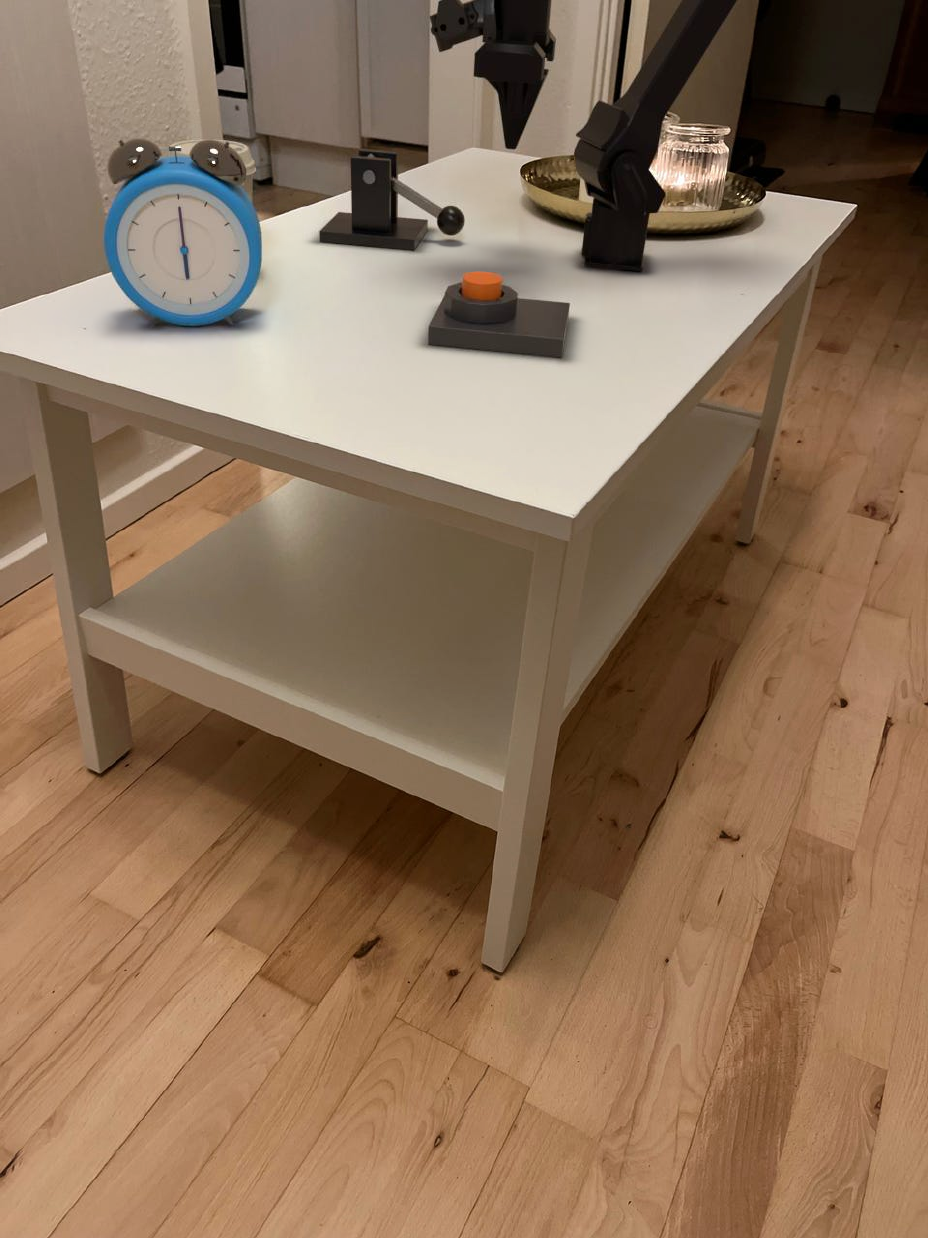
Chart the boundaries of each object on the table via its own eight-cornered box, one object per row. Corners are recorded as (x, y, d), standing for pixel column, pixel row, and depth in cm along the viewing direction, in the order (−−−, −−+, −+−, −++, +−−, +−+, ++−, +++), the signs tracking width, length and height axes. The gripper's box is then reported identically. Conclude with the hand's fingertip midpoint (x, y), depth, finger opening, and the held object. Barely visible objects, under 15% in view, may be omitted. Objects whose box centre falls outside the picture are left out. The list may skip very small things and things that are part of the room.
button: (502, 292, 91) (504, 273, 90) (498, 304, 88) (499, 285, 87) (464, 288, 92) (465, 269, 90) (458, 301, 89) (459, 281, 88)
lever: (457, 236, 116) (471, 212, 114) (453, 244, 113) (467, 219, 112) (360, 174, 113) (373, 148, 112) (354, 180, 111) (367, 154, 109)
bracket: (427, 229, 119) (429, 150, 114) (414, 250, 112) (415, 166, 106) (338, 221, 120) (336, 142, 115) (319, 241, 112) (316, 158, 107)
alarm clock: (116, 330, 87) (86, 145, 78) (124, 306, 92) (96, 130, 83) (266, 328, 89) (254, 148, 81) (266, 305, 94) (254, 133, 85)
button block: (568, 320, 95) (572, 283, 93) (561, 357, 87) (566, 318, 85) (445, 308, 96) (446, 272, 94) (427, 344, 88) (428, 305, 86)
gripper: (453, -44, 100) (447, 126, 109) (420, -36, 85) (416, 160, 94) (562, -37, 99) (547, 134, 108) (549, -28, 84) (533, 169, 93)
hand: (510, 148), depth 101 cm, fingers closed
